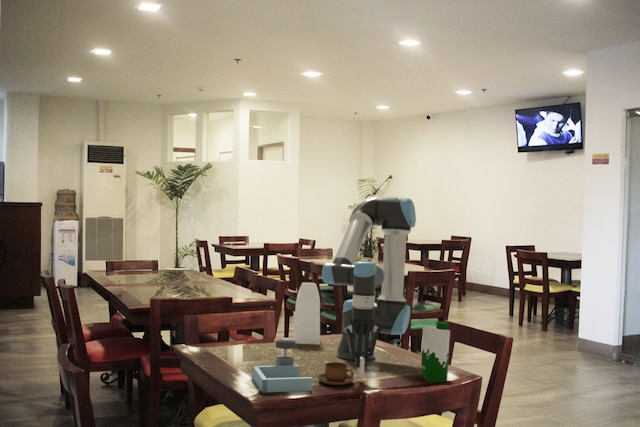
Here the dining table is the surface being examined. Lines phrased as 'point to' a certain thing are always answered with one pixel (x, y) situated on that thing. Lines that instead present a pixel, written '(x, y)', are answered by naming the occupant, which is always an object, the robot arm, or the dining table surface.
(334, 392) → the dining table surface
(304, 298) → the milk
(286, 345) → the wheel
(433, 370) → the milk carton
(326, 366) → the cup and saucer
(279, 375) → the light blue tray
